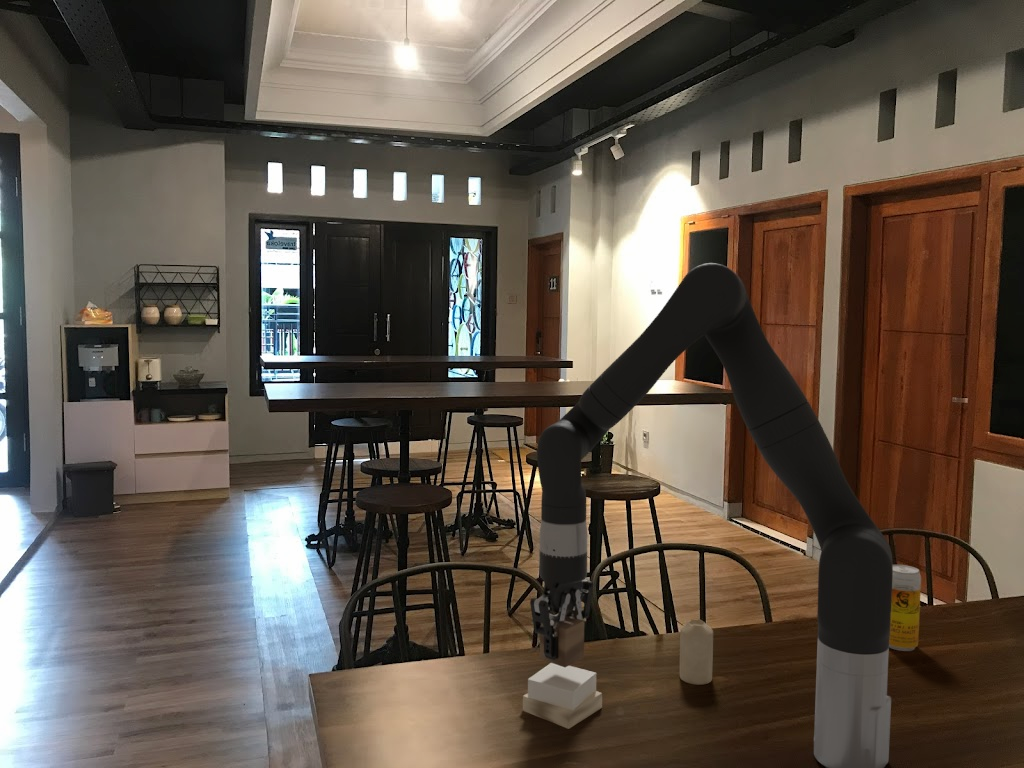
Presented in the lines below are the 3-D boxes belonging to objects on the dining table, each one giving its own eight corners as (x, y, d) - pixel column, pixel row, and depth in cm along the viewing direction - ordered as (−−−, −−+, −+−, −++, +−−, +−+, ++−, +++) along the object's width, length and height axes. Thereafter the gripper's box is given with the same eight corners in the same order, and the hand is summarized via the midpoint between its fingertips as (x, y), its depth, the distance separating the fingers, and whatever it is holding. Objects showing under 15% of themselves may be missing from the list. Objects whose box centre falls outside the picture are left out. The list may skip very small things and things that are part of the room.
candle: (712, 686, 141) (713, 629, 140) (679, 683, 142) (680, 626, 141) (711, 672, 146) (712, 617, 145) (679, 670, 147) (680, 615, 146)
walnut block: (583, 657, 132) (584, 620, 132) (565, 667, 128) (565, 629, 128) (558, 649, 135) (559, 613, 135) (539, 658, 132) (540, 621, 131)
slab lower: (601, 711, 133) (602, 693, 133) (568, 732, 126) (568, 713, 126) (556, 694, 139) (557, 677, 139) (522, 714, 132) (522, 695, 132)
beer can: (884, 650, 156) (888, 572, 155) (880, 638, 162) (883, 562, 161) (920, 654, 154) (924, 575, 153) (914, 641, 160) (918, 565, 159)
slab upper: (596, 690, 134) (596, 672, 133) (572, 710, 127) (572, 691, 127) (552, 678, 138) (552, 661, 138) (527, 697, 131) (528, 679, 131)
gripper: (554, 562, 122) (553, 674, 124) (608, 542, 133) (607, 645, 135) (515, 553, 127) (515, 660, 129) (570, 534, 138) (569, 633, 140)
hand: (562, 652), depth 132 cm, fingers closed on walnut block, 5 cm apart
